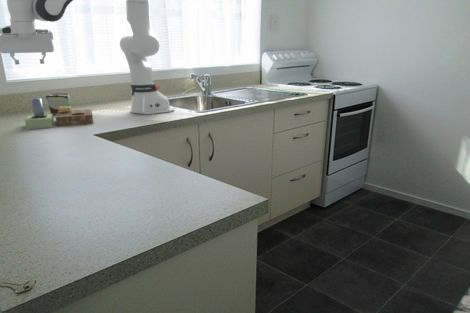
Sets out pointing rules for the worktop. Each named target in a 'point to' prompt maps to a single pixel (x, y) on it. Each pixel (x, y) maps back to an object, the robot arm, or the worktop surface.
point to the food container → (57, 101)
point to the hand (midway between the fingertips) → (30, 64)
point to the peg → (37, 108)
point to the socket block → (74, 117)
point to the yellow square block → (64, 108)
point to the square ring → (39, 122)
